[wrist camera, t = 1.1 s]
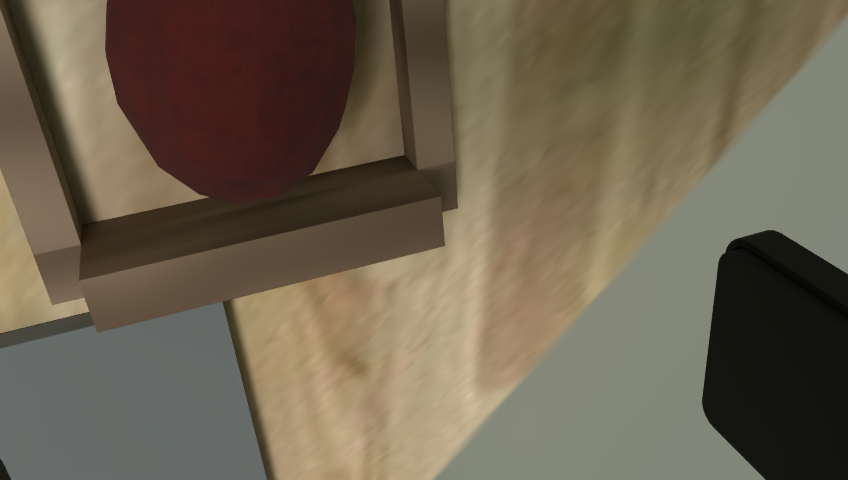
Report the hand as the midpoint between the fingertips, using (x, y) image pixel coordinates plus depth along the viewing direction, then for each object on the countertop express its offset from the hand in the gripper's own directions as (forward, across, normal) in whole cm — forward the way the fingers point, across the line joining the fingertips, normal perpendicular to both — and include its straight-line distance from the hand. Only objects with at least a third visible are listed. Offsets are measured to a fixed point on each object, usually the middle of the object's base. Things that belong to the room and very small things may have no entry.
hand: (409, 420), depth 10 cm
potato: (+20, 0, 0) cm, 20 cm away
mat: (+20, +8, +15) cm, 26 cm away
